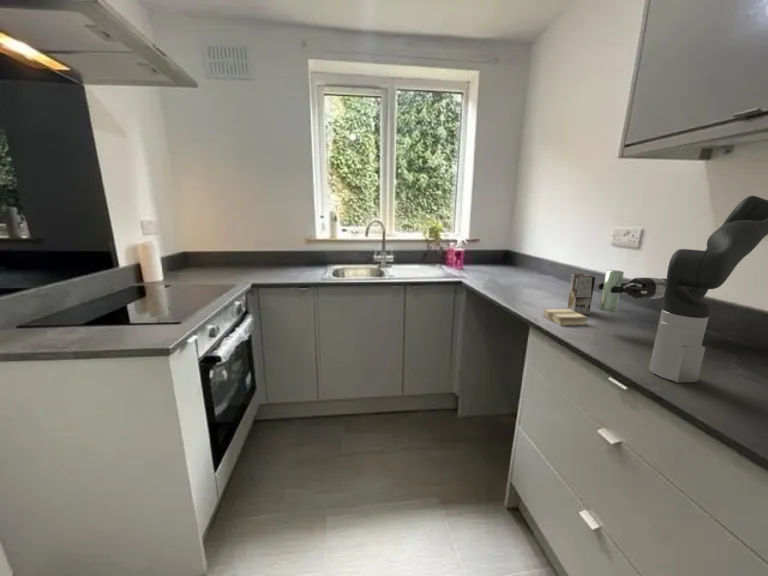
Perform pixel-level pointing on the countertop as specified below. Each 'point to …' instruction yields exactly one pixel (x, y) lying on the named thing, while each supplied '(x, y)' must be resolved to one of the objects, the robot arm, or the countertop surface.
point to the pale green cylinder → (610, 299)
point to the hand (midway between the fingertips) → (605, 287)
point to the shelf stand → (565, 317)
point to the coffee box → (581, 293)
